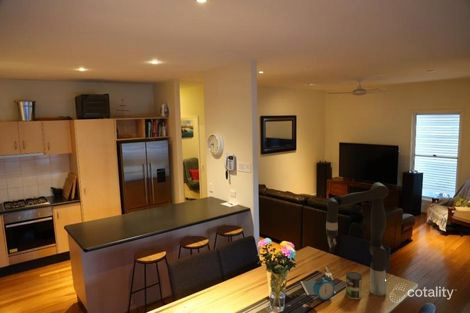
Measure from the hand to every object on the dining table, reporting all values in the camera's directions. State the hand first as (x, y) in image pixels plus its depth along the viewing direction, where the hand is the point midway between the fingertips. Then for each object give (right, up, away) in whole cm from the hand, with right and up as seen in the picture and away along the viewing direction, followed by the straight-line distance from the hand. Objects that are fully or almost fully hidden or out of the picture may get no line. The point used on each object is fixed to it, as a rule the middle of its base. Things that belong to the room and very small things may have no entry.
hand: (331, 252), depth 219 cm
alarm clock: (-7, -29, -5) cm, 30 cm away
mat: (-7, -27, +8) cm, 30 cm away
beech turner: (+5, -25, +26) cm, 36 cm away
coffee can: (+14, -28, -3) cm, 32 cm away
